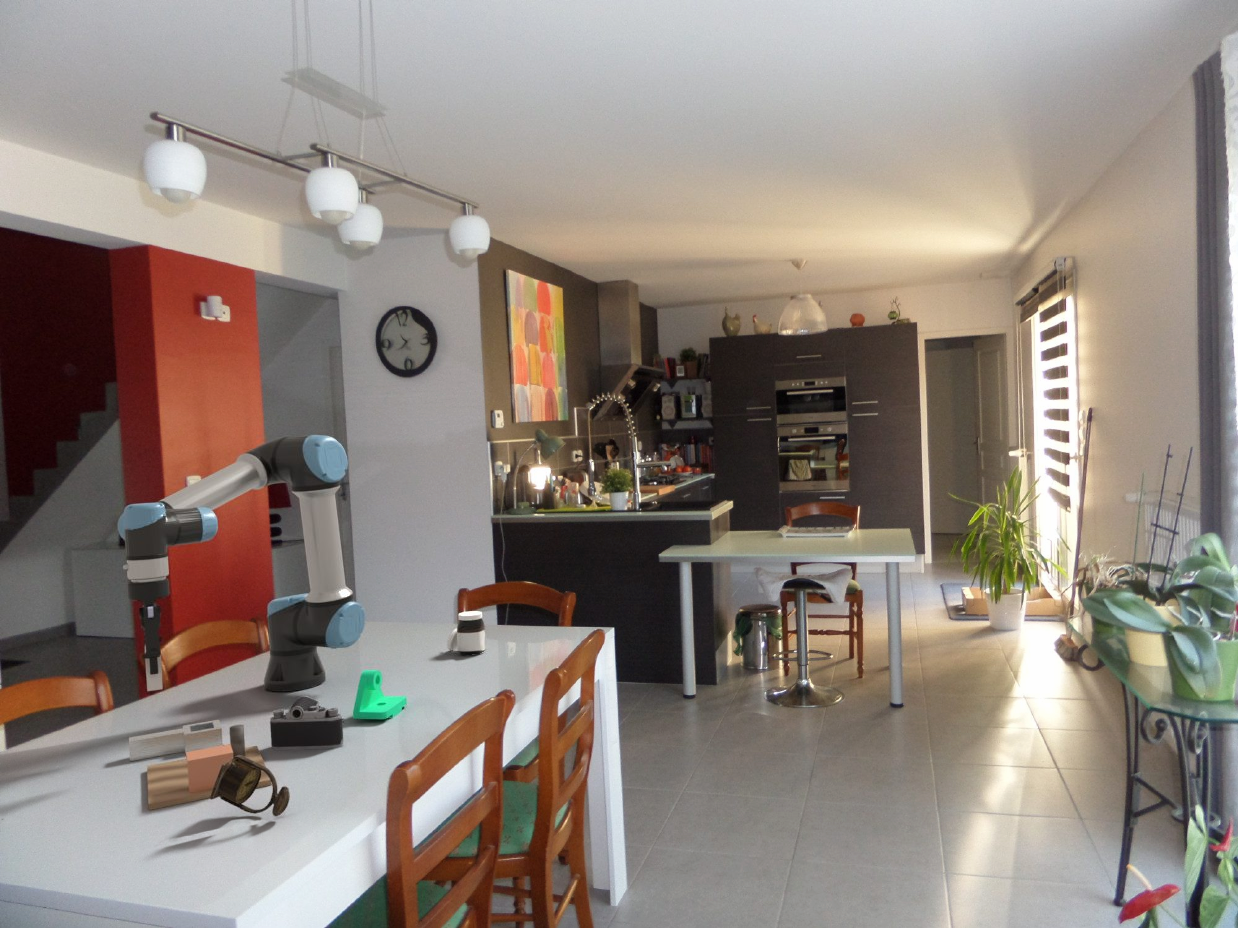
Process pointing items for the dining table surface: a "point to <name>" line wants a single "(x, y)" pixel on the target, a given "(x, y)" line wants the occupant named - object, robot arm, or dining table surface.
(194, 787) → the block
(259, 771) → the brass desk clock
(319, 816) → the dining table surface
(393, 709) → the camera mount
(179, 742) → the link
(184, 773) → the board
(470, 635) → the spread jar
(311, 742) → the camera
